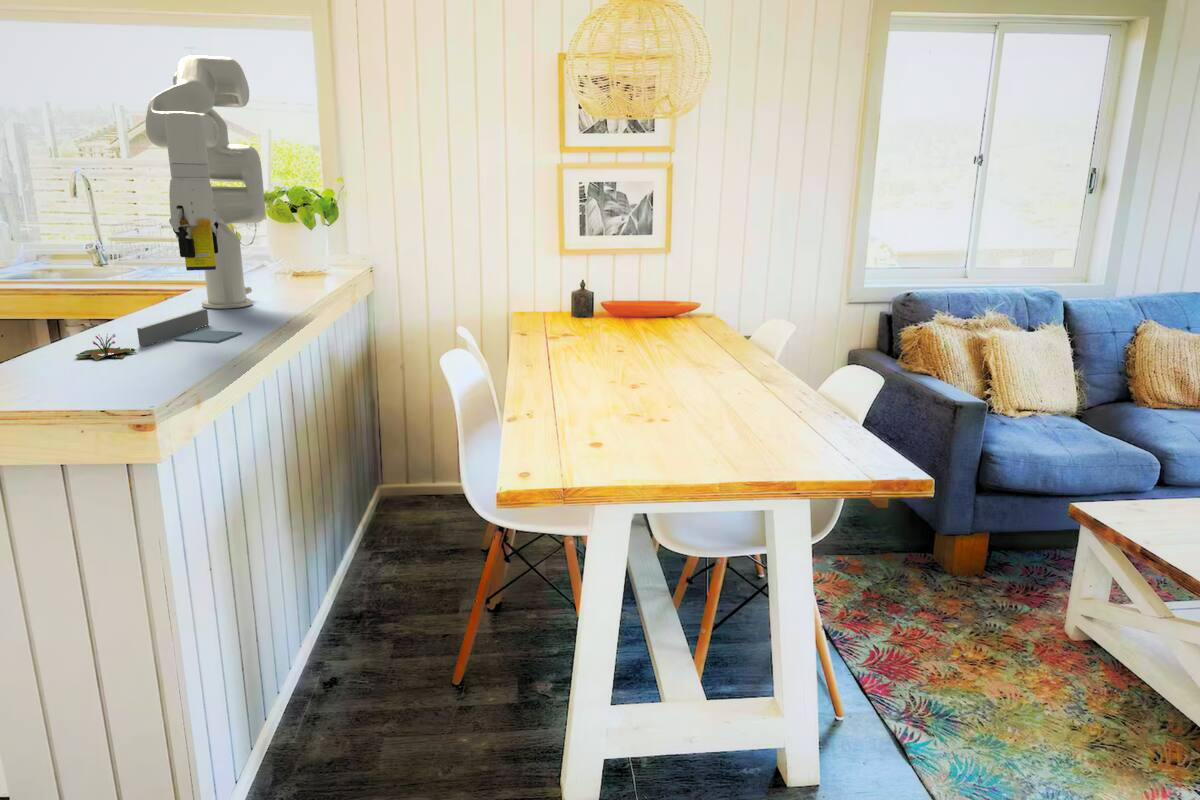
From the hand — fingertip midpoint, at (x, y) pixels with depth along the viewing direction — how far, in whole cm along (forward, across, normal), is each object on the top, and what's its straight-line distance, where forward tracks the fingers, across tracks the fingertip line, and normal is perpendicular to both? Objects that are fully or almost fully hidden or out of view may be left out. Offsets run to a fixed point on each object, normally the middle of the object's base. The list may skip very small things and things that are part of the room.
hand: (199, 254), depth 176 cm
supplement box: (+3, 0, 0) cm, 3 cm away
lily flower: (+19, +20, -10) cm, 29 cm away
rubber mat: (+19, 0, 0) cm, 19 cm away
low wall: (+19, 0, -8) cm, 20 cm away
